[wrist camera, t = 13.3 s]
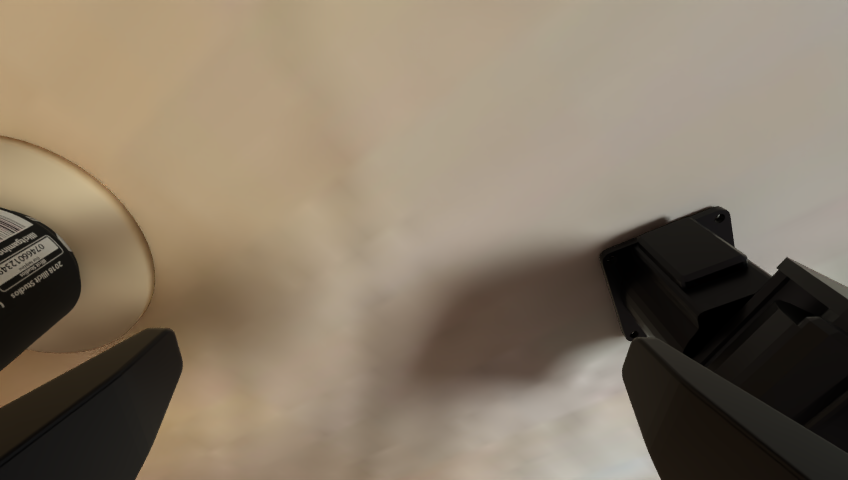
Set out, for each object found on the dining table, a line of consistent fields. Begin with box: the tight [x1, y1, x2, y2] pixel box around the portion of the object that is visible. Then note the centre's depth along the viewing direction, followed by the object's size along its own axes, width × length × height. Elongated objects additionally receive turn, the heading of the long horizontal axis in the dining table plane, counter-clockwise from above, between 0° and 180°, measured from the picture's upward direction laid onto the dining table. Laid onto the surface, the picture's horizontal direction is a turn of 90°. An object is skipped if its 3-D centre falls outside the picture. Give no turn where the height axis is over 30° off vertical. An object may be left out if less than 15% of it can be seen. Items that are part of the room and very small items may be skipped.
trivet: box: [0, 136, 155, 353], centre depth 21 cm, size 12×12×1 cm
